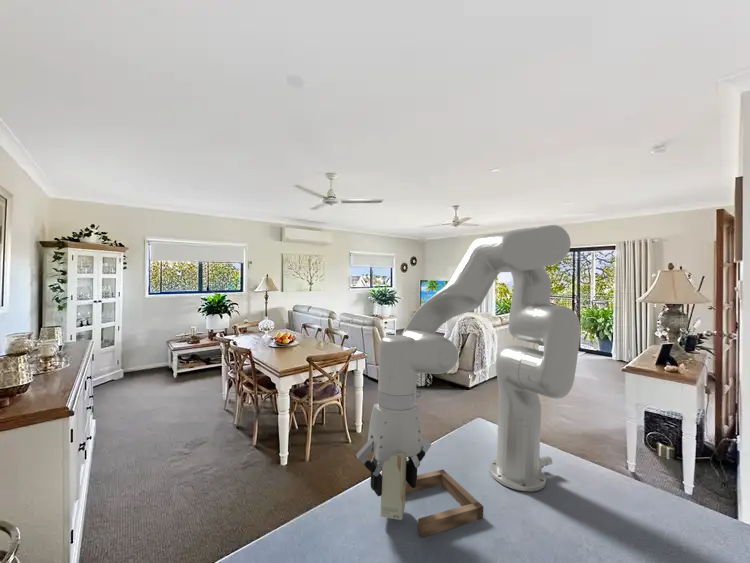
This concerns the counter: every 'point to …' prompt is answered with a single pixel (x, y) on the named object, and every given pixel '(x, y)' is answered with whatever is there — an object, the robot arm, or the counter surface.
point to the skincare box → (394, 487)
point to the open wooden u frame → (448, 518)
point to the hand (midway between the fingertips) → (393, 487)
